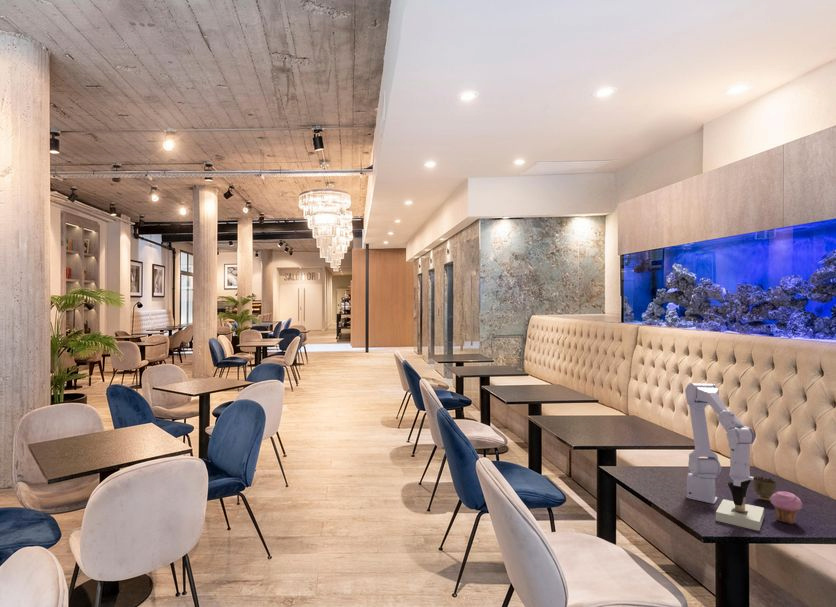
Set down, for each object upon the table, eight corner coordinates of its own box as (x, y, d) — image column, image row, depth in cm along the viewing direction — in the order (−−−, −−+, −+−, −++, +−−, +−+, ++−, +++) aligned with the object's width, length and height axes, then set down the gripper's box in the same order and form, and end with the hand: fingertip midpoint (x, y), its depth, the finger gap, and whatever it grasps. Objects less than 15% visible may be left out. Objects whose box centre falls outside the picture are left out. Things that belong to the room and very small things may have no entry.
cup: (780, 504, 190) (780, 483, 190) (758, 502, 192) (758, 481, 192) (770, 497, 198) (770, 476, 198) (749, 495, 199) (749, 475, 199)
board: (715, 520, 174) (715, 511, 174) (723, 507, 186) (723, 499, 186) (759, 530, 166) (759, 521, 166) (764, 516, 178) (764, 507, 178)
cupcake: (767, 520, 175) (768, 491, 175) (773, 514, 181) (773, 485, 181) (799, 528, 168) (799, 498, 168) (804, 521, 174) (804, 492, 175)
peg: (734, 520, 174) (734, 497, 174) (735, 517, 176) (735, 494, 177) (744, 522, 172) (744, 499, 172) (745, 520, 175) (745, 496, 175)
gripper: (751, 469, 167) (750, 511, 166) (756, 460, 178) (755, 498, 178) (726, 465, 171) (725, 505, 171) (732, 456, 182) (732, 494, 182)
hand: (739, 501), depth 175 cm, fingers open, 7 cm apart
